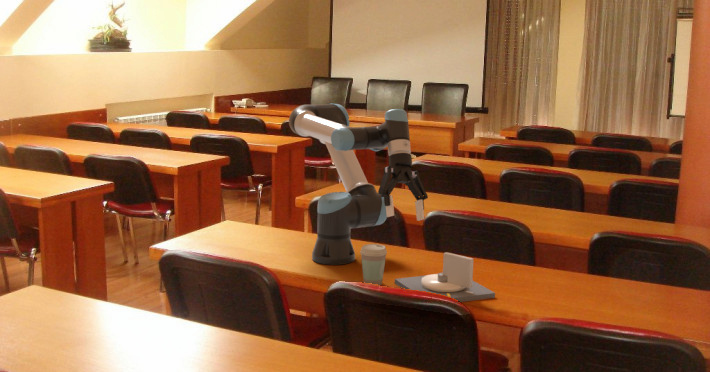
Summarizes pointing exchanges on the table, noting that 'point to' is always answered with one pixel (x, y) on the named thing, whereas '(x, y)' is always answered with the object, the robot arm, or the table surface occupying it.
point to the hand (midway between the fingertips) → (405, 218)
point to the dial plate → (464, 295)
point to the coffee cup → (373, 263)
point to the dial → (451, 275)
